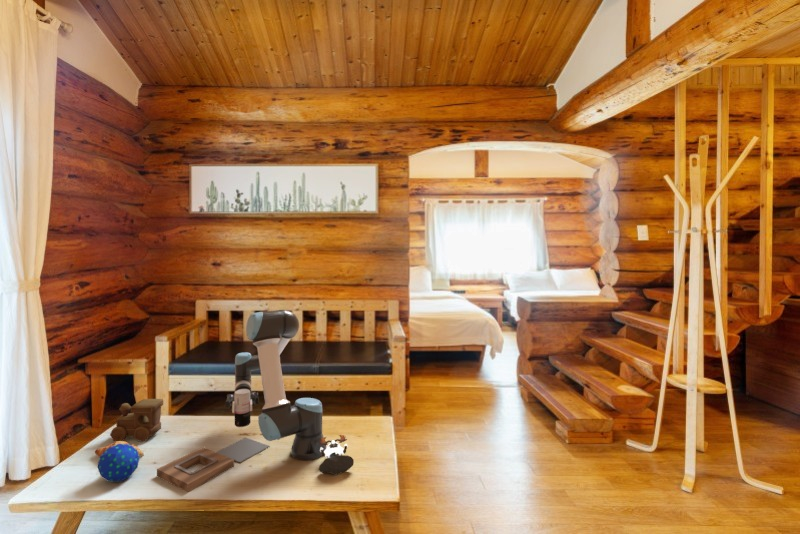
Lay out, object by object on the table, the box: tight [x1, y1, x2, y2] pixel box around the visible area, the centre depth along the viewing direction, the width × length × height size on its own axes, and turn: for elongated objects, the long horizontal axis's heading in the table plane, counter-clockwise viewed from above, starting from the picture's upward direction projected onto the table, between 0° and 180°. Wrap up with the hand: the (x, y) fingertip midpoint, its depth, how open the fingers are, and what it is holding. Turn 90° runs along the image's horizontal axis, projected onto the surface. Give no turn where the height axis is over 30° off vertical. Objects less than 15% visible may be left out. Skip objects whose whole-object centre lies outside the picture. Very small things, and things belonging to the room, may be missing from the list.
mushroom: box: [97, 443, 140, 483], centre depth 158 cm, size 14×14×15 cm
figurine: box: [318, 434, 355, 476], centre depth 169 cm, size 14×10×18 cm
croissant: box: [94, 440, 144, 459], centre depth 173 cm, size 21×10×8 cm, turn 88°
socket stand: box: [156, 446, 235, 492], centre depth 163 cm, size 20×20×3 cm
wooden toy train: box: [109, 398, 164, 442], centre depth 191 cm, size 20×11×17 cm, turn 92°
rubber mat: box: [215, 437, 270, 464], centre depth 180 cm, size 16×16×1 cm
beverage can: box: [233, 389, 252, 428], centre depth 180 cm, size 7×6×15 cm
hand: (242, 408), depth 175 cm, fingers closed on beverage can, 6 cm apart
